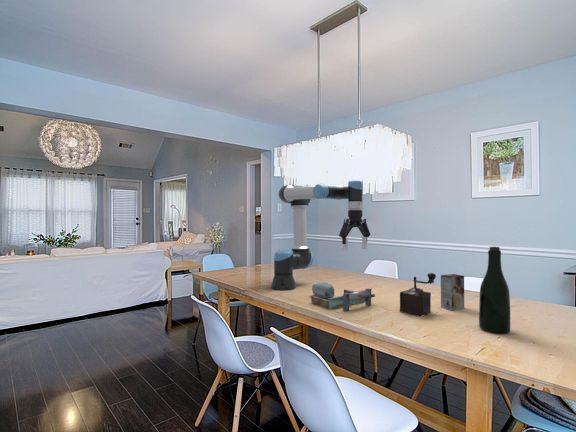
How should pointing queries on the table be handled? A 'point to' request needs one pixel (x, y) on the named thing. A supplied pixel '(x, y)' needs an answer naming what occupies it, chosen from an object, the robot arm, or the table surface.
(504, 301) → the dark green wine bottle
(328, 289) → the grey rounded barrel
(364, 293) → the grey clamp
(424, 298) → the manual coffee grinder
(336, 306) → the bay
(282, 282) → the robot arm
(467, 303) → the table surface
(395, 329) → the table surface
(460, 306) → the coffee box
